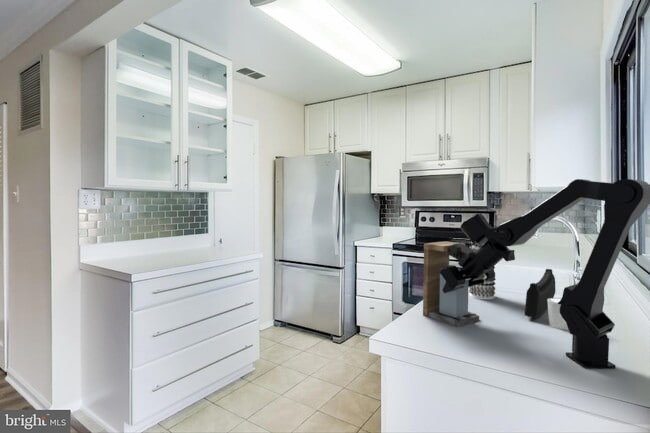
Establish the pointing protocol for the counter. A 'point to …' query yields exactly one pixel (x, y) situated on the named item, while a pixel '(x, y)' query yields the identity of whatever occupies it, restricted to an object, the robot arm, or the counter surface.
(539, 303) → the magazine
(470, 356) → the counter surface
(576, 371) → the counter surface
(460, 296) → the sleeve
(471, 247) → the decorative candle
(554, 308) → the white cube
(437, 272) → the wooden c-shaped stand
